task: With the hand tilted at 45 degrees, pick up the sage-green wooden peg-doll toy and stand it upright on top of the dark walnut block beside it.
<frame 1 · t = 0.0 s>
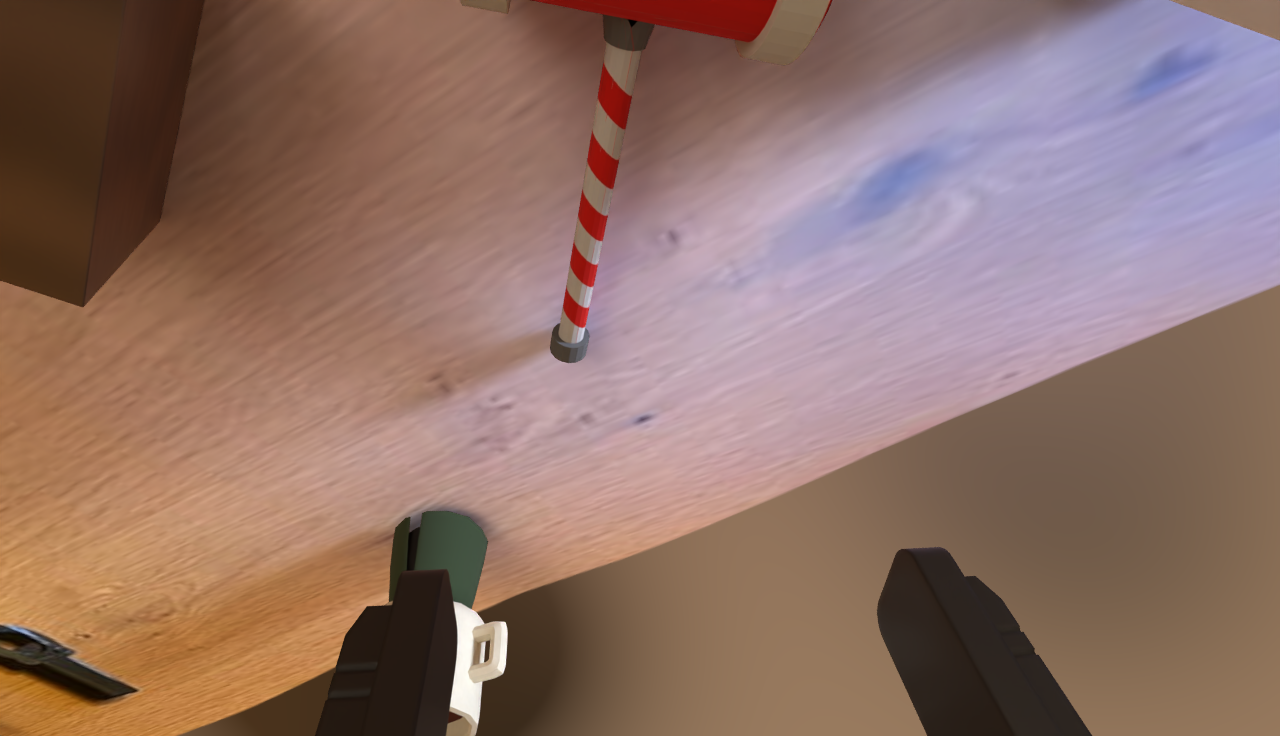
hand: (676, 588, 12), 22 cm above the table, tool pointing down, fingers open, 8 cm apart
character mug: (442, 529, 47), on the table
walnut block: (15, 15, 24), on the table
toy hammer: (616, 80, 28), on the table
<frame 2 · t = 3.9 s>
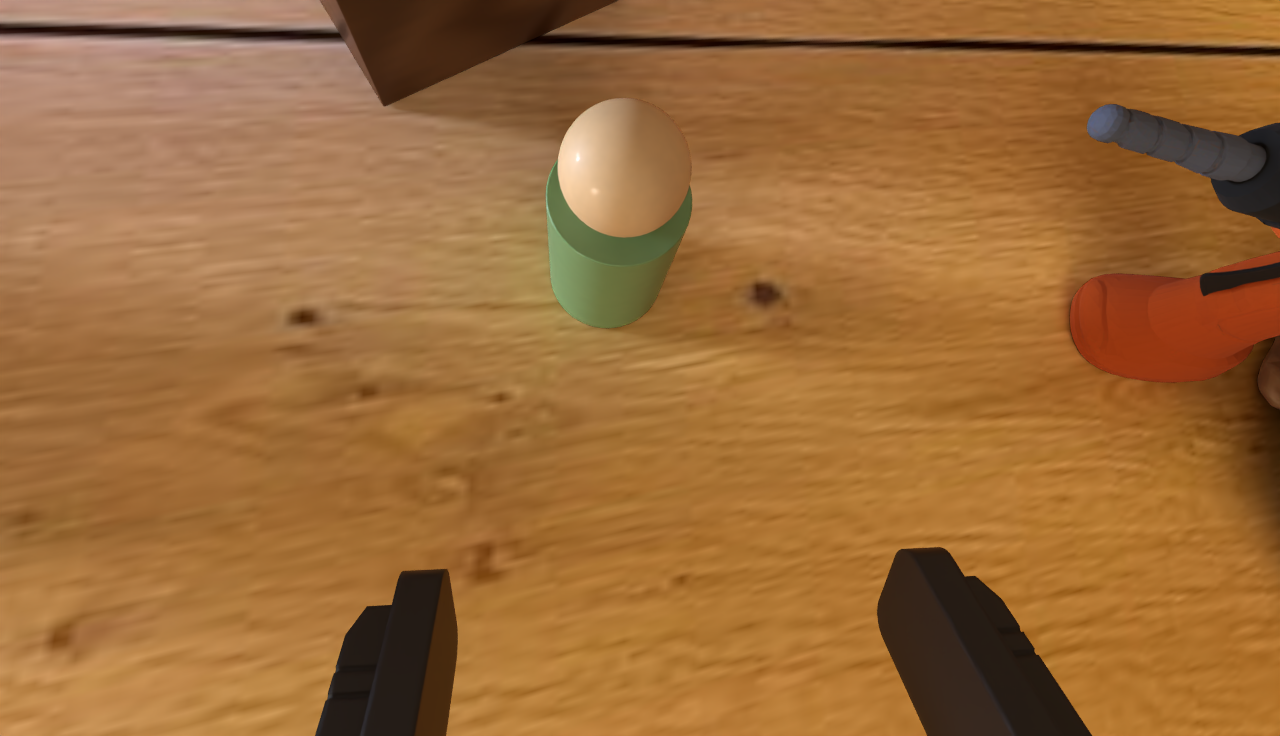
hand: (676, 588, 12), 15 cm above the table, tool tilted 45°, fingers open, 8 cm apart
toy drill: (1051, 318, 31), on the table
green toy: (606, 275, 29), on the table
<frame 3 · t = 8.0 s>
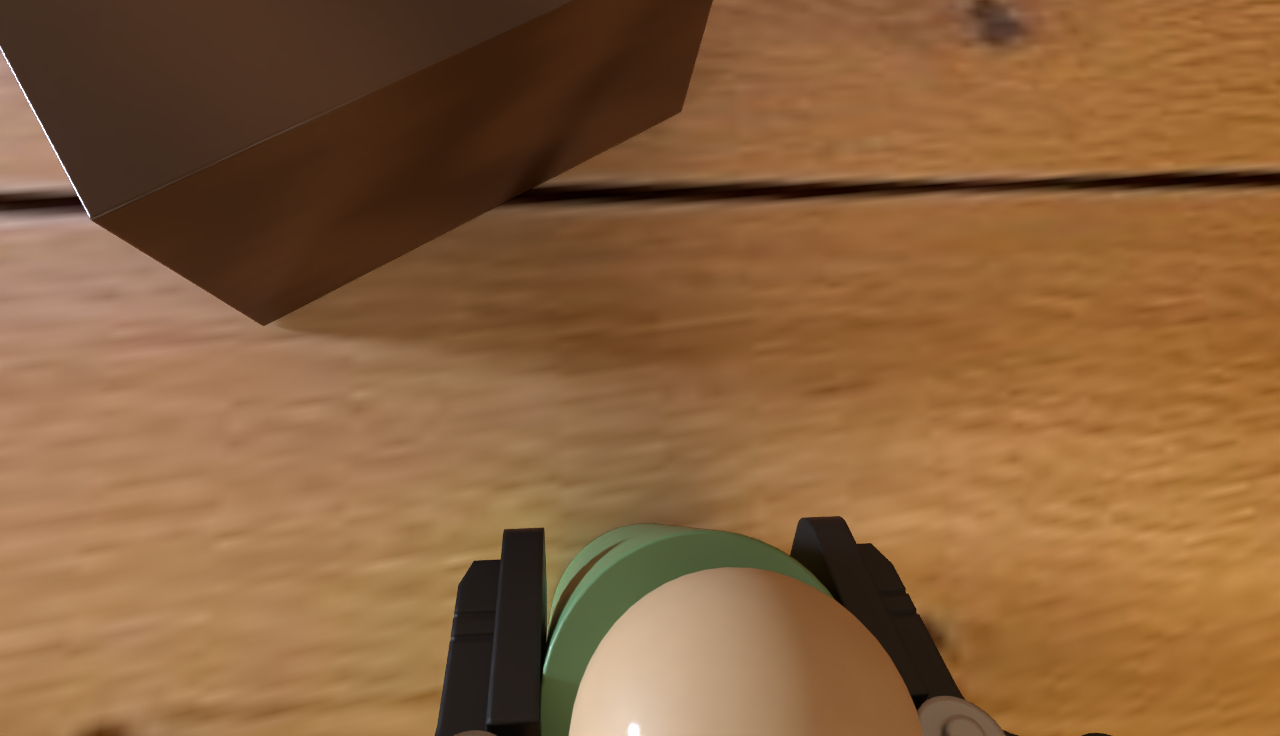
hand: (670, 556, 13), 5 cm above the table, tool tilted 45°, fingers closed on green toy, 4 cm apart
walnut block: (391, 56, 19), on the table
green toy: (646, 622, 17), on the table, touching gripper
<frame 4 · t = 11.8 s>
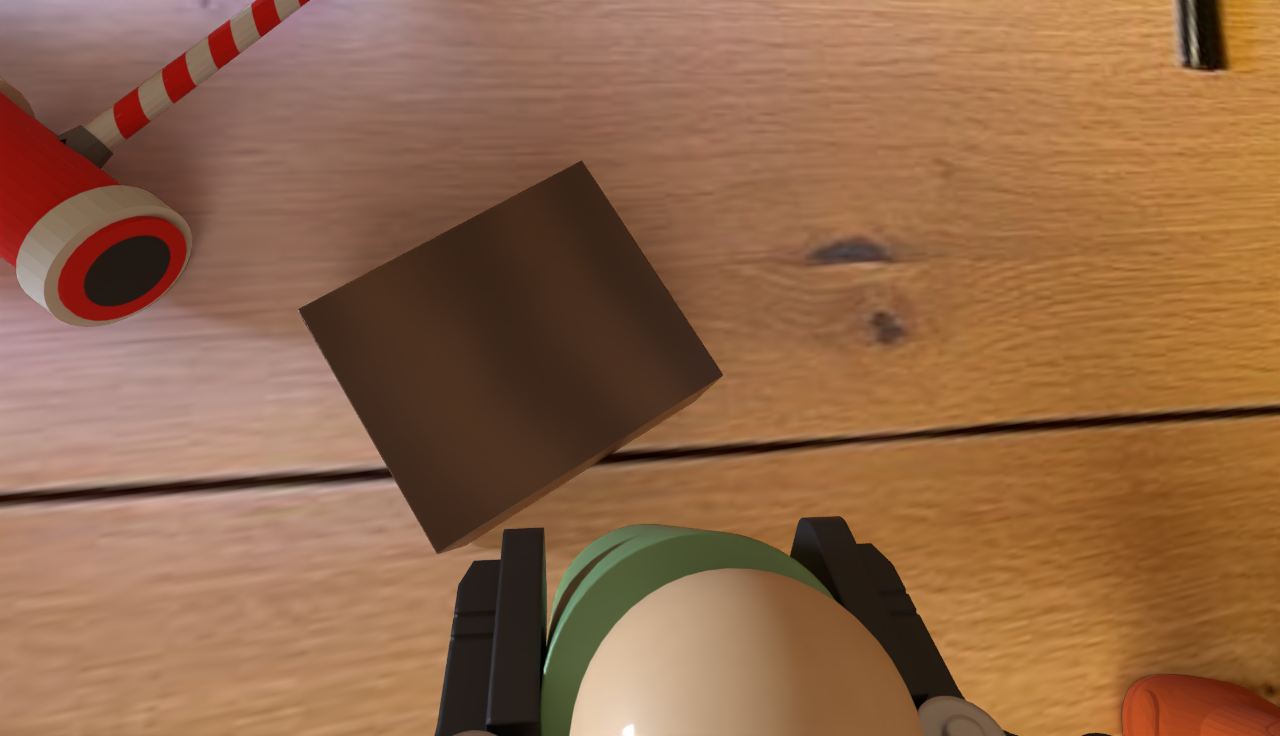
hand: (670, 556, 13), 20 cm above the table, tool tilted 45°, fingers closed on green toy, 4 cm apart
toy drill: (1103, 718, 33), on the table
walnut block: (525, 375, 33), on the table
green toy: (647, 622, 17), point 15 cm above the table, touching gripper
toy hammer: (167, 136, 34), on the table
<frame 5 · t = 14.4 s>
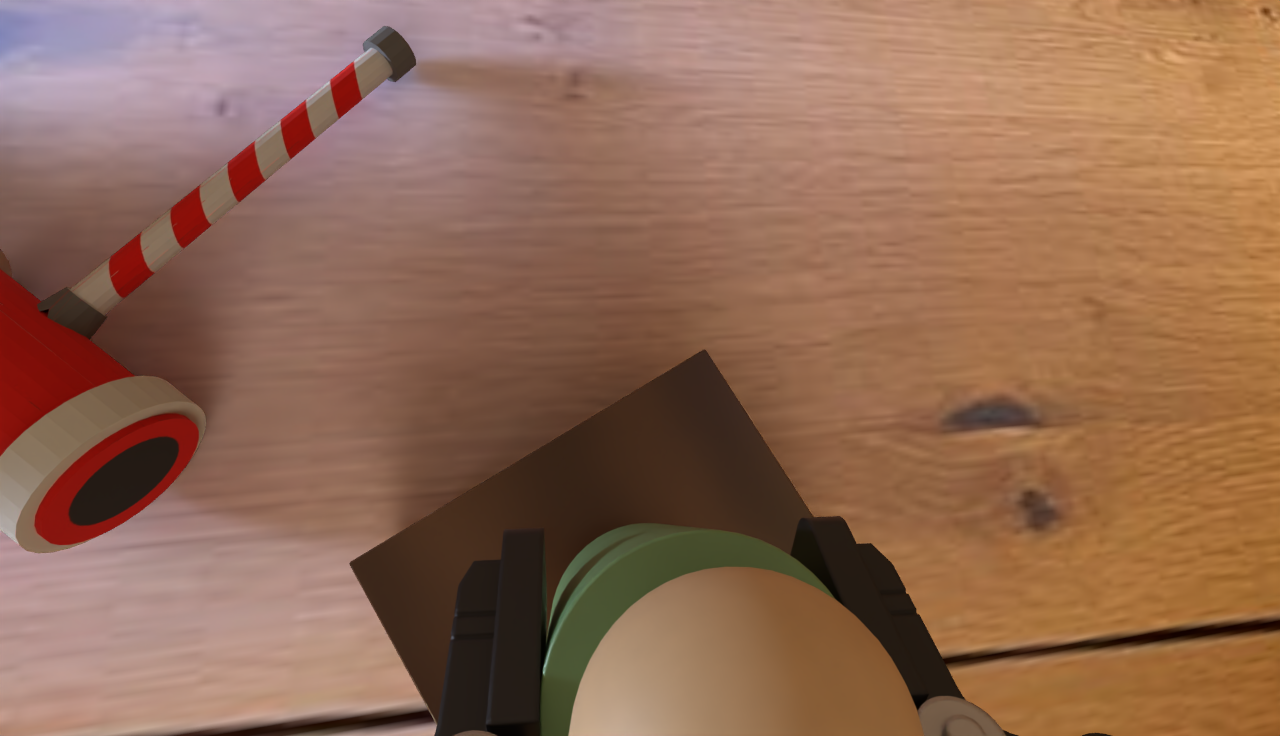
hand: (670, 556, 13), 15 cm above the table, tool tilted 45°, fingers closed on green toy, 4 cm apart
walnut block: (613, 580, 27), on the table
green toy: (647, 621, 17), point 11 cm above the table, touching gripper
toy hammer: (175, 278, 28), on the table
when the fingers open (11 cm above the table, at t = 16.0 s): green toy stays where it is, resting on walnut block.
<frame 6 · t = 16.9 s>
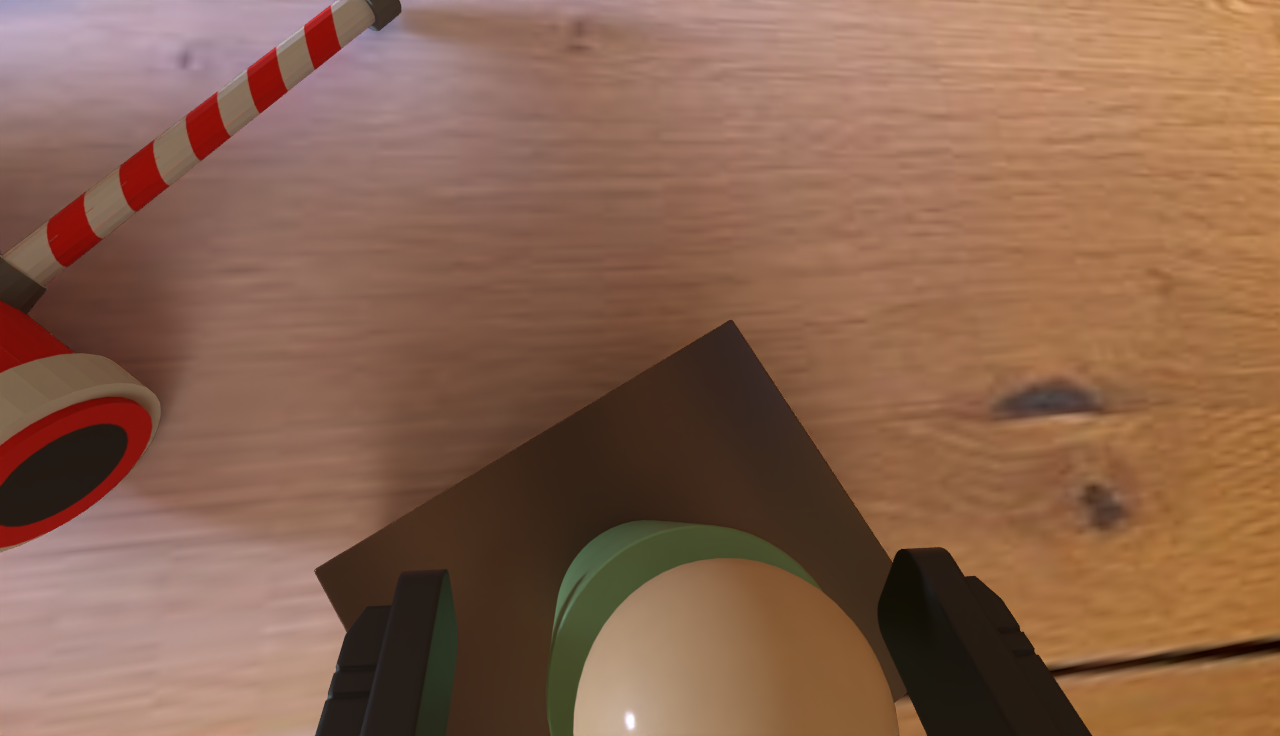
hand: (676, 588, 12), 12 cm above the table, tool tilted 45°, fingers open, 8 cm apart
walnut block: (624, 587, 24), on the table
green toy: (648, 614, 18), point 6 cm above the table, touching walnut block
toy hammer: (131, 248, 25), on the table
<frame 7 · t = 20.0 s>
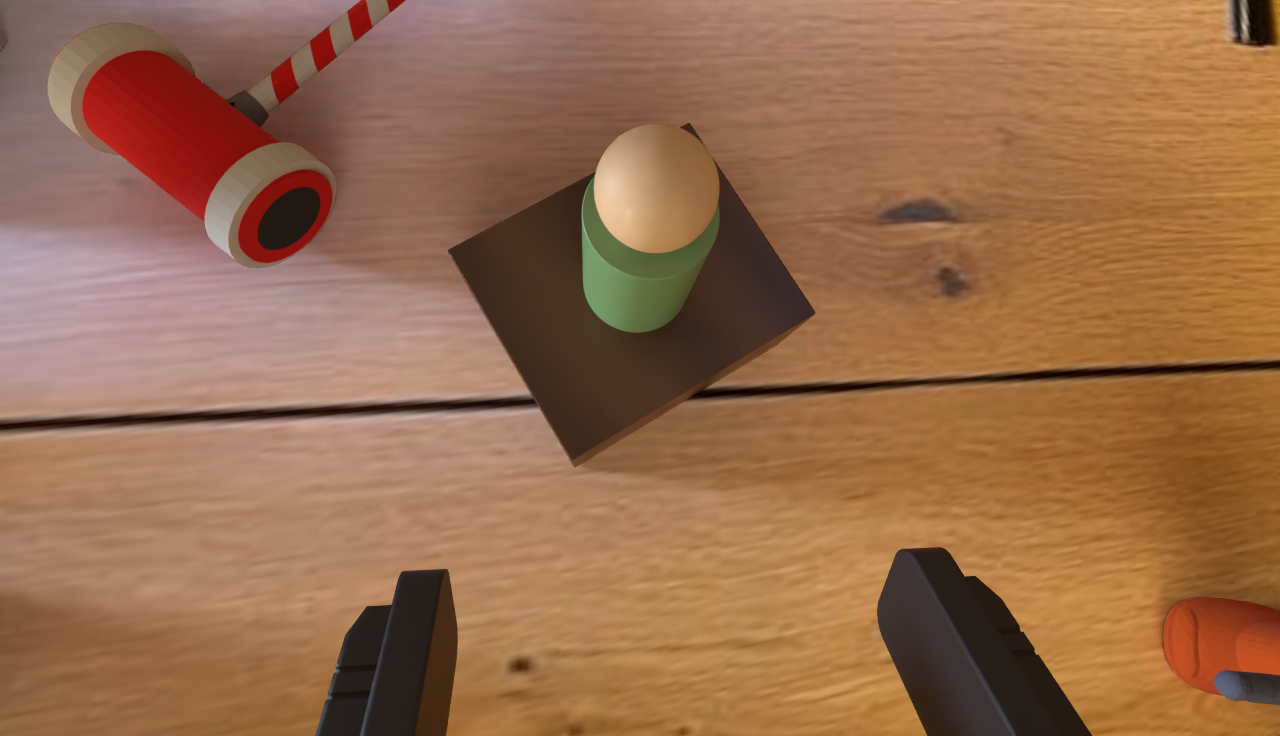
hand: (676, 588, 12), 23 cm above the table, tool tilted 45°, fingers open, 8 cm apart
toy drill: (1146, 635, 36), on the table
walnut block: (626, 319, 37), on the table
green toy: (635, 281, 31), point 6 cm above the table, touching walnut block
toy hammer: (306, 102, 38), on the table
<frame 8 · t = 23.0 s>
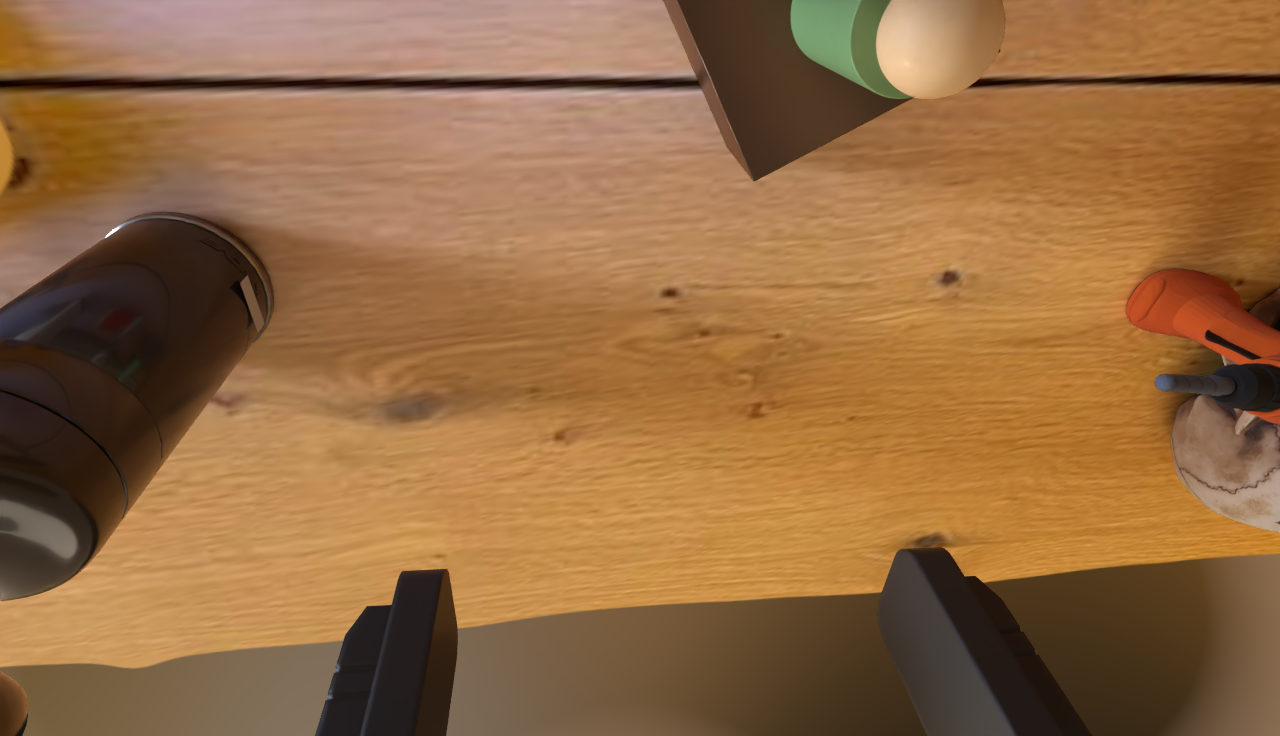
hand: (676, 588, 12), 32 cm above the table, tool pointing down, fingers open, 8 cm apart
toy drill: (1121, 290, 49), on the table
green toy: (842, 8, 31), point 6 cm above the table, touching walnut block
coin bank: (1248, 366, 54), on the table
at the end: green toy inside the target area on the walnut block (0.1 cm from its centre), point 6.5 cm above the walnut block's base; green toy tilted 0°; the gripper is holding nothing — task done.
